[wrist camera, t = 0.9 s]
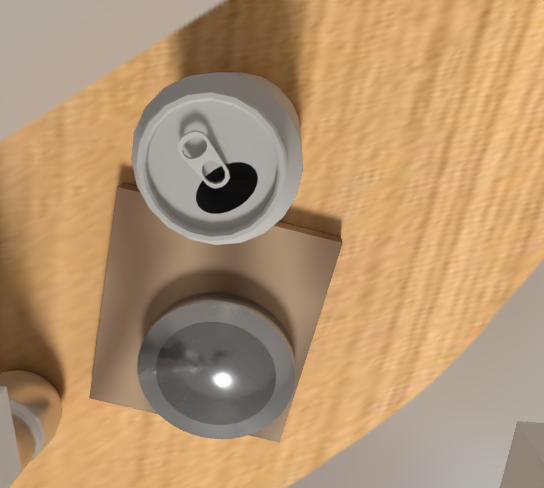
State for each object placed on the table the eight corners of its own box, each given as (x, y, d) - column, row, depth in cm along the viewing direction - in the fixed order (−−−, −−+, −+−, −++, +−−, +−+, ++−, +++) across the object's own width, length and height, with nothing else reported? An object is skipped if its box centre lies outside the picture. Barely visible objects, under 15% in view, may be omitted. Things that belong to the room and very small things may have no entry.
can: (227, 212, 32) (190, 288, 21) (160, 116, 30) (79, 143, 19) (323, 152, 30) (339, 199, 19) (258, 46, 28) (233, 29, 17)
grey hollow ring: (135, 403, 36) (126, 419, 35) (157, 275, 33) (149, 287, 31) (274, 435, 37) (273, 453, 35) (312, 313, 33) (313, 326, 31)
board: (95, 388, 37) (89, 398, 36) (123, 182, 32) (117, 186, 31) (279, 431, 38) (279, 442, 37) (341, 236, 32) (342, 242, 31)
